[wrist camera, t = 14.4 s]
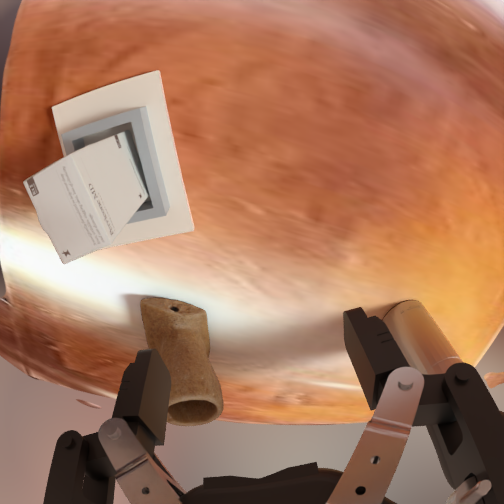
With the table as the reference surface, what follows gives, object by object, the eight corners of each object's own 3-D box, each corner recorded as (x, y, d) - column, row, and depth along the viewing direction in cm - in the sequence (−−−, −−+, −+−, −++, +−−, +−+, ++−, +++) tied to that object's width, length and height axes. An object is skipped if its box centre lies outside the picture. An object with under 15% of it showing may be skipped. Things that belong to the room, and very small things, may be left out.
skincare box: (154, 189, 36) (118, 249, 23) (112, 206, 37) (63, 270, 24) (128, 125, 32) (72, 151, 19) (85, 146, 33) (18, 184, 20)
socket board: (194, 227, 40) (191, 241, 37) (98, 247, 40) (88, 261, 37) (159, 70, 30) (152, 68, 27) (55, 106, 31) (39, 109, 27)
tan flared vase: (221, 363, 53) (223, 438, 40) (153, 361, 52) (141, 433, 39) (223, 294, 46) (224, 375, 33) (141, 291, 44) (118, 369, 31)
